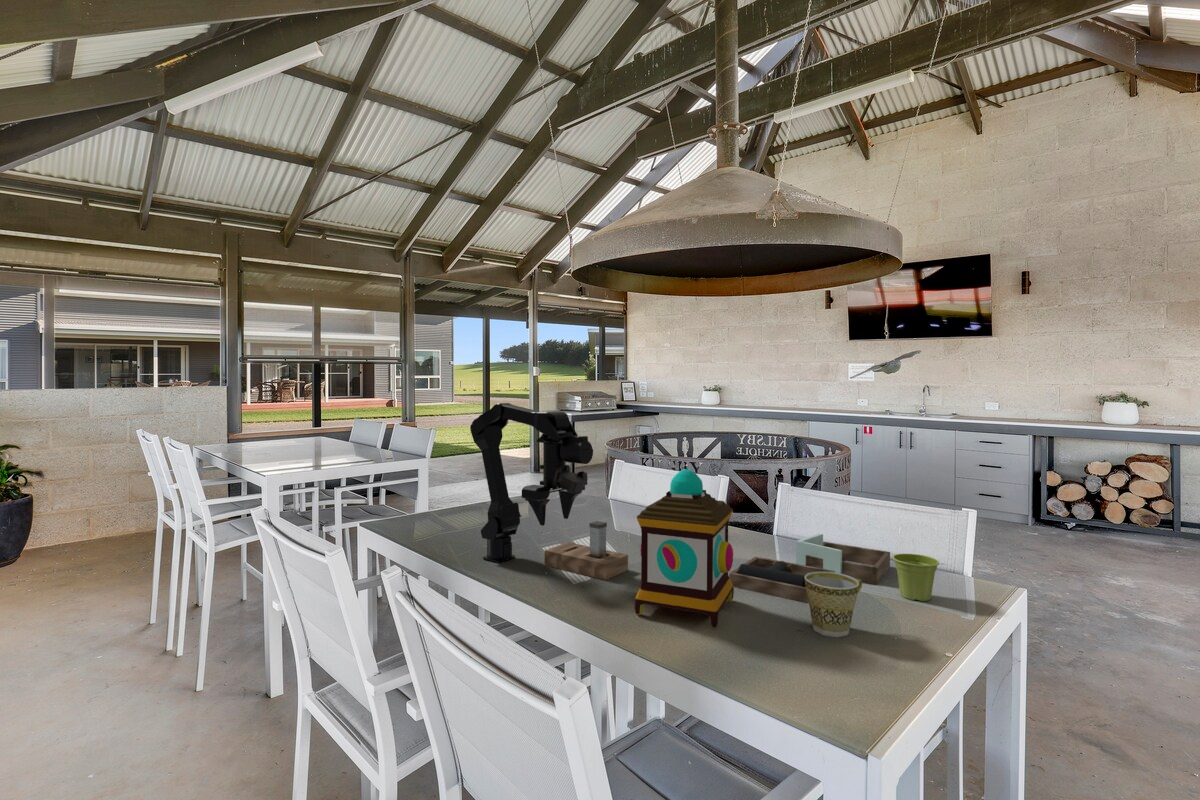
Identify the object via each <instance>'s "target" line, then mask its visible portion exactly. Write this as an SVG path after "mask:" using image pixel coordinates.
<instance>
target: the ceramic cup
mask: <svg viewBox="0 0 1200 800" xmlns="http://www.w3.org/2000/svg"><path fill="white" fill-rule="evenodd" d="M804 580H805V587H806V593H807V597H808V600H809V603H808V604H809V611H810V615H811V618H810V619H811V624H812V628H813V631H814V632H816V633H818V634H820V635H822V636H826V637H832V638H833V637H834V638H841V637H845V636H848V635H849V634H850V628H851V624H852V619H853V615H854V610H855V609H854V608H855V606H856V602H857V598H858V595H859V594H860V592H861V590H862V587H863V582H861V580H860V579H858V578H852V577H850V576H847V575H844V574H840V573H834V572H811V573H808V574H806V575H805V576H804Z"/></svg>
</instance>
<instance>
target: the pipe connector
mask: <svg viewBox="0 0 1200 800" xmlns="http://www.w3.org/2000/svg"><path fill="white" fill-rule="evenodd" d="M775 560H776V559H775ZM788 562H789V561H784V560H778V561H777V560H776V561H775V562H774V563H772V566H771V567H770V568H763V567H757V566H752V565H747V564H745V563H741V564H740V565H739V566H738V567H739V570H738V574H742V575H747V576H752V577H757V578H762V579H767V580H772V581H777V582H782V583H787V584H791V585H796V586H801V587H805V580H804V575H799V574H794V573H793V562H789V563H788Z"/></svg>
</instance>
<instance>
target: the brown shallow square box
mask: <svg viewBox="0 0 1200 800" xmlns="http://www.w3.org/2000/svg"><path fill="white" fill-rule="evenodd" d="M822 546H825V547H830V548H834V549H838V550H842V574H844V575H847V576H850V577H852V578H858V579H860V580H861V582H862V583H867V584H870V585H871V584H872V585H876V586H877V585H878V584H879V583H880V582H881V580H882V579H883V578H884V576H885V575H886V573H887V572H888V570H889V569H890V568H891V552H890V551H887V550H879V549H873V548H867V547H860V546H854V545H847V544H842V543H834V542H829V541H828V542H827V541H823V545H822ZM806 566H811V567H816V568H822V569H823V559H822V558H817V557H813V556H809V555H806Z"/></svg>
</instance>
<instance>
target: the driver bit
mask: <svg viewBox="0 0 1200 800" xmlns="http://www.w3.org/2000/svg"><path fill="white" fill-rule="evenodd" d="M607 525H608V523H607V522H606V521H605V522H604V521H599V520H596V521H595V520H594V521H592V522H589V547H590V557H593V558H597V559H602V558H604V557H606V550H607V527H608V526H607Z"/></svg>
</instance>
